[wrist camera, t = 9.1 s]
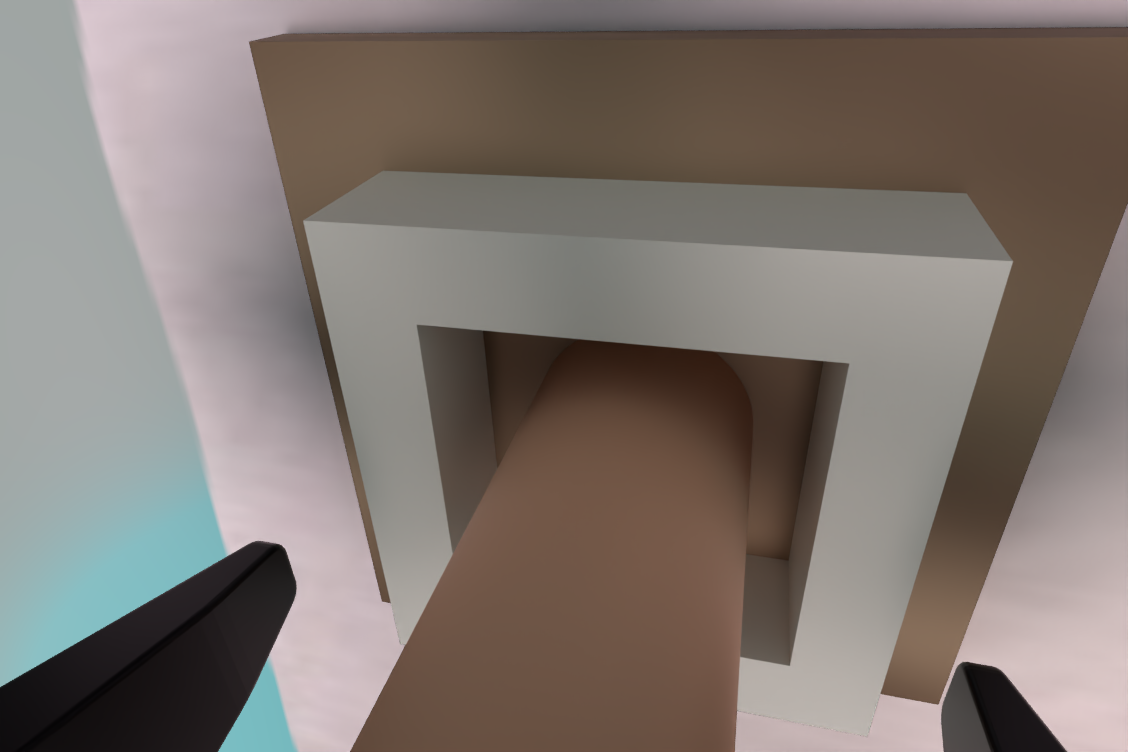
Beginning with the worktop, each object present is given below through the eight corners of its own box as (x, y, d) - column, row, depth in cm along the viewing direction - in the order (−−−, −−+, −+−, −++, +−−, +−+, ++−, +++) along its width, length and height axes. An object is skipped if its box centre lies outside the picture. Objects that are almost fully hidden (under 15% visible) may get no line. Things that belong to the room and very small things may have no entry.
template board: (930, 665, 16) (962, 824, 13) (399, 572, 19) (332, 687, 16) (1155, 27, 10) (1316, 71, 7) (284, 34, 13) (136, 67, 10)
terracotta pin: (742, 515, 14) (708, 1029, 8) (545, 488, 15) (362, 925, 9) (764, 335, 12) (743, 826, 6) (533, 315, 13) (282, 718, 6)
